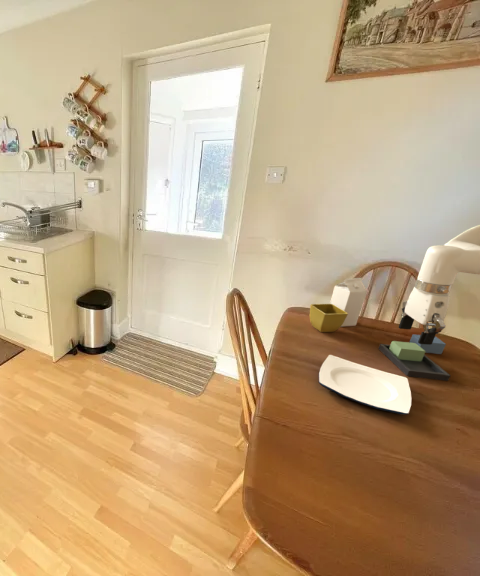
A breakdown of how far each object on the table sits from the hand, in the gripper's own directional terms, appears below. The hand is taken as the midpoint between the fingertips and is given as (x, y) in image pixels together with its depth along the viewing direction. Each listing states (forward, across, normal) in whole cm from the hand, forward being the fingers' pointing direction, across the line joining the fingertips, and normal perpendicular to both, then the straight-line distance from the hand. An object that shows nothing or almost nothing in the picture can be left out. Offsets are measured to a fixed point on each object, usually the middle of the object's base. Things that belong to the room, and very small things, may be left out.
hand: (414, 335), depth 101 cm
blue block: (+8, +7, -9) cm, 15 cm away
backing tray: (+8, -4, +1) cm, 9 cm away
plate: (+8, -21, +22) cm, 31 cm away
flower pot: (+8, +15, +19) cm, 26 cm away
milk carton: (+8, +23, +10) cm, 27 cm away
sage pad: (+8, 0, +1) cm, 8 cm away
